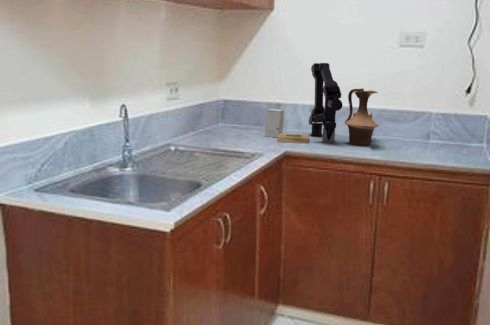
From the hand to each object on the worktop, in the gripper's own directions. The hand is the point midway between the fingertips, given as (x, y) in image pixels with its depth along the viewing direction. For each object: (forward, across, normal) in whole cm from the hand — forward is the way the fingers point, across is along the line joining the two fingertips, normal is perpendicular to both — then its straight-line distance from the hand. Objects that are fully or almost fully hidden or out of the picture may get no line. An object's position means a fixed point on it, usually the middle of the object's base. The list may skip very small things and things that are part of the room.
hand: (328, 139), depth 259 cm
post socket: (+2, 0, -18) cm, 18 cm away
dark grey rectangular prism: (+2, 0, 0) cm, 2 cm away
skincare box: (+2, -12, -29) cm, 31 cm away
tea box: (+2, -11, +17) cm, 21 cm away
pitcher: (+2, +2, +16) cm, 16 cm away
